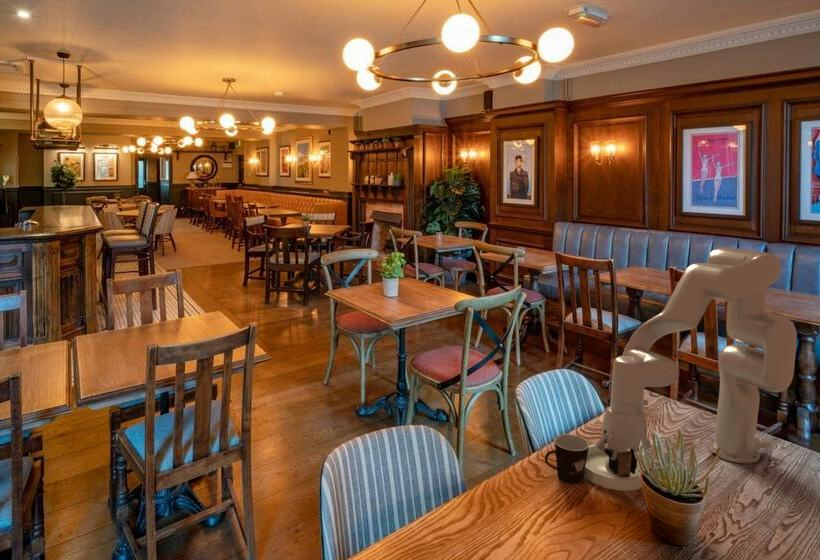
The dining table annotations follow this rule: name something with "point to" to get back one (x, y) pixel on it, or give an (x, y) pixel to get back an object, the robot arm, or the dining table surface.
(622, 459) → the cylinder
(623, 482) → the tray
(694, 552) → the dining table surface
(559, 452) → the coffee mug
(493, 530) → the dining table surface
